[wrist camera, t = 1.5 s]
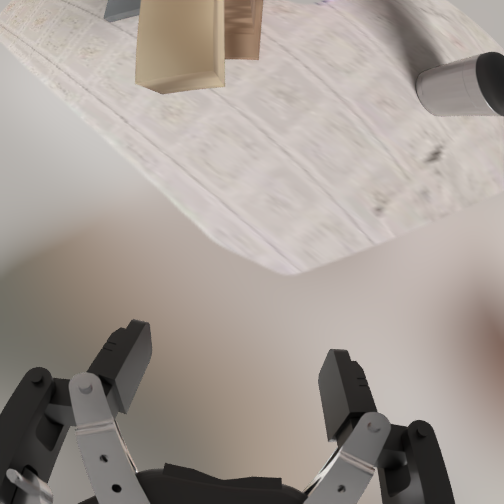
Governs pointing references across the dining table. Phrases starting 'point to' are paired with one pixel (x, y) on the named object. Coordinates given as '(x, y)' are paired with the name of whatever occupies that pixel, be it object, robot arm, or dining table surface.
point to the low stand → (121, 9)
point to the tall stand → (242, 28)
